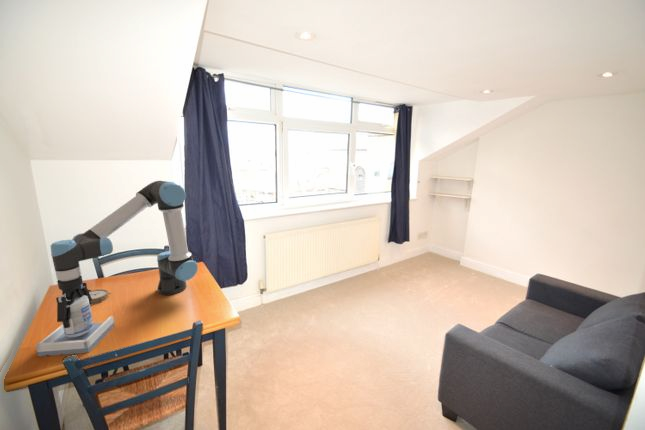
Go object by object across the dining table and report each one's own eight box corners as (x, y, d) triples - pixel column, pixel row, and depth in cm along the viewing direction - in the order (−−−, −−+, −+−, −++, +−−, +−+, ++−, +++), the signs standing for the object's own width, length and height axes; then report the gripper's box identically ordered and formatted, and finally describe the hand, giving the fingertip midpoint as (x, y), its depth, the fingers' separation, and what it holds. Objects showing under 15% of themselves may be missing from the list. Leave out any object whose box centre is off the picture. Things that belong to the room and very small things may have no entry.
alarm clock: (101, 299, 148) (68, 296, 144) (101, 307, 149) (68, 305, 145) (112, 289, 159) (82, 286, 155) (112, 297, 159) (82, 295, 156)
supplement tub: (92, 333, 119) (86, 302, 116) (62, 341, 114) (55, 309, 110) (95, 322, 127) (89, 292, 123) (67, 329, 122) (61, 298, 118)
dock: (114, 325, 130) (113, 316, 129) (89, 352, 112) (86, 341, 111) (71, 328, 127) (69, 318, 126) (38, 356, 110) (35, 345, 109)
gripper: (78, 267, 125) (86, 312, 130) (36, 290, 103) (48, 343, 108) (96, 266, 126) (104, 311, 131) (59, 289, 105) (69, 342, 109)
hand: (79, 325), depth 120 cm, fingers closed on supplement tub, 9 cm apart
